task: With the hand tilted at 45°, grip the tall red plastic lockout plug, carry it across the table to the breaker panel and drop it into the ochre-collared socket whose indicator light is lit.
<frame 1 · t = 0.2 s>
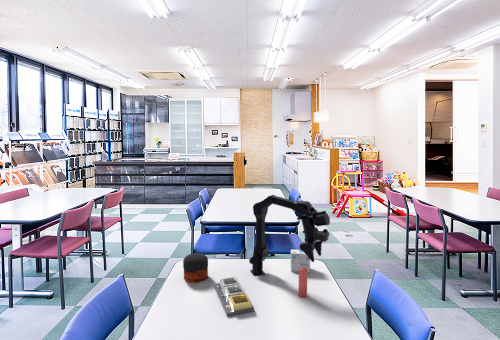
hand: (316, 258, 150), 15 cm above the table, tool tilted 15°, fingers open, 9 cm apart
breaker panel: (232, 298, 143), on the table
lockout plug: (302, 295, 146), on the table
light bulb box: (300, 270, 174), on the table
oil filter: (196, 277, 165), on the table
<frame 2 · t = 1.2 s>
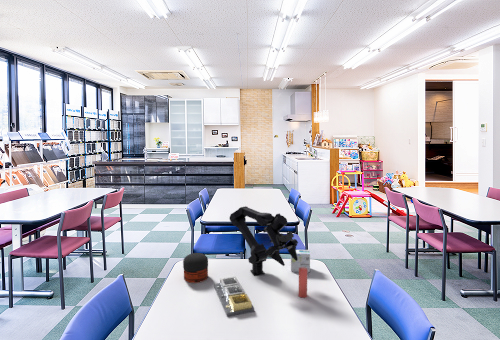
hand: (290, 262, 150), 13 cm above the table, tool tilted 45°, fingers open, 9 cm apart
nothing on the table moved.
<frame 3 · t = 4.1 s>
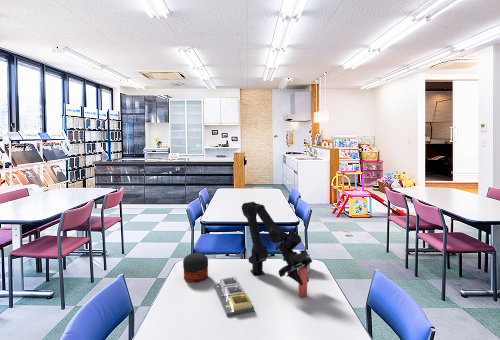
hand: (305, 283, 144), 7 cm above the table, tool tilted 45°, fingers closed on lockout plug, 4 cm apart
lockout plug: (302, 295, 146), on the table, touching gripper
everything else where it was.
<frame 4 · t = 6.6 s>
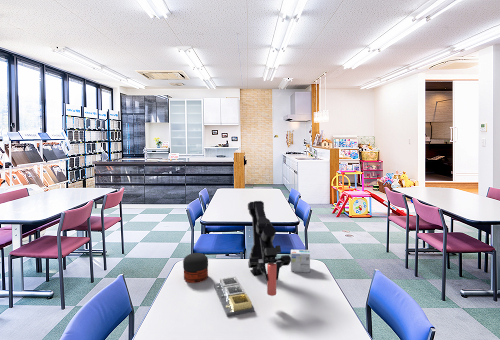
hand: (272, 280, 133), 13 cm above the table, tool tilted 45°, fingers closed on lockout plug, 4 cm apart
lockout plug: (271, 293, 135), point 6 cm above the table, touching gripper
everything else where it was.
when the fingers open (10 cm above the table, at t = 9.0 s): lockout plug drops 1 cm, resting on breaker panel.
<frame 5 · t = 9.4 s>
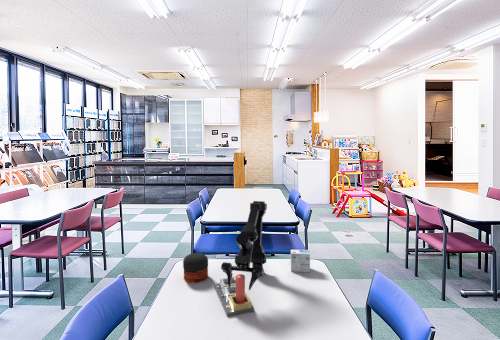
hand: (239, 288, 133), 10 cm above the table, tool tilted 45°, fingers open, 9 cm apart
lockout plug: (240, 304, 135), point 2 cm above the table, touching breaker panel
everything else where it was.
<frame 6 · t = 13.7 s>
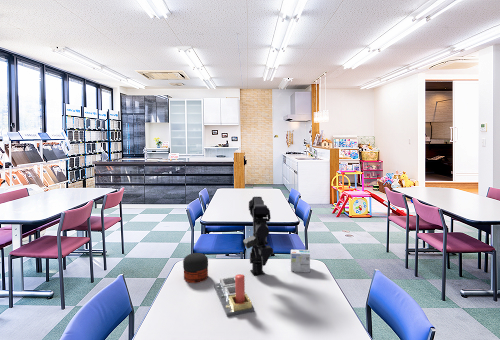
hand: (260, 261, 152), 13 cm above the table, tool pointing down, fingers open, 9 cm apart
nothing on the table moved.
at the end: lockout plug 0.0 cm from the target spot on the breaker panel, point 1.5 cm above the breaker panel's base; lockout plug tilted 1°; the gripper is holding nothing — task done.
